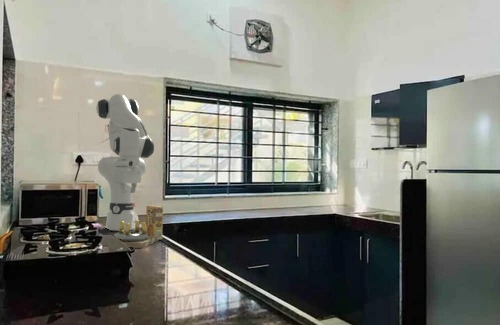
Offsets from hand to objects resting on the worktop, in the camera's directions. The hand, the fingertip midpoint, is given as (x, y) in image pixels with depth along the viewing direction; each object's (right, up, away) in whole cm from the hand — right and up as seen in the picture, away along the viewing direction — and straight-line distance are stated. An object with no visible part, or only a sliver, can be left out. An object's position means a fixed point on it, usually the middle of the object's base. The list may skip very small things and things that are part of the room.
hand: (128, 193), depth 176 cm
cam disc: (+4, -19, -8) cm, 21 cm away
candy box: (+10, -22, +7) cm, 25 cm away
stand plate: (+4, -21, -7) cm, 23 cm away
